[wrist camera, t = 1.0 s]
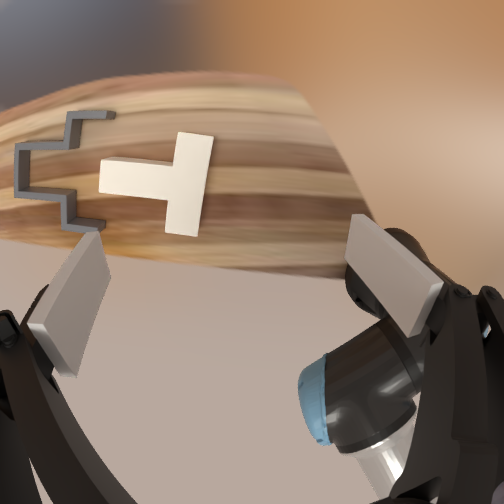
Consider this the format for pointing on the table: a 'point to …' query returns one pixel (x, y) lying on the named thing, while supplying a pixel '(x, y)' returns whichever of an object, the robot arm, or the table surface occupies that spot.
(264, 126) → the table surface
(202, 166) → the t block
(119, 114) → the table surface
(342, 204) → the table surface
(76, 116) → the t bay
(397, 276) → the robot arm
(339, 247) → the table surface
